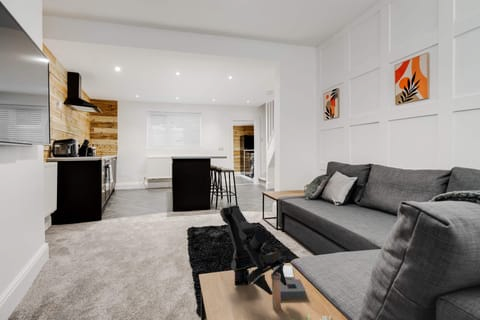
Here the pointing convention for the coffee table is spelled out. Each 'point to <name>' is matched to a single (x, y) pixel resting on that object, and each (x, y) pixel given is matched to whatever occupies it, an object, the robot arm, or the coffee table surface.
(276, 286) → the plug
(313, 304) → the coffee table surface
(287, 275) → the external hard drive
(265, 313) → the coffee table surface
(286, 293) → the grey peg base
